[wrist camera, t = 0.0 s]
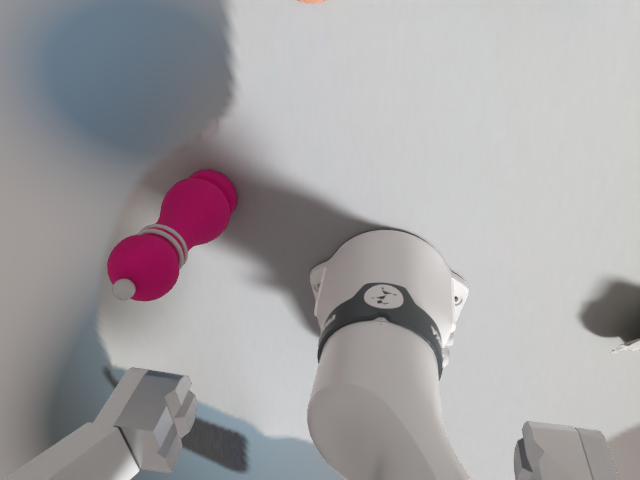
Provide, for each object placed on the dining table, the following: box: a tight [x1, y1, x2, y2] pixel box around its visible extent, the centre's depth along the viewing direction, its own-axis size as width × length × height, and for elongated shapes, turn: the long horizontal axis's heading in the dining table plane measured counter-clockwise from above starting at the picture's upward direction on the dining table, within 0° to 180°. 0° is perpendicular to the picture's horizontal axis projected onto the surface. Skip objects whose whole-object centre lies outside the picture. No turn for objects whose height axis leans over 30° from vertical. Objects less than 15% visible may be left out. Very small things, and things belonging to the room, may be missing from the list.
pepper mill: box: [107, 170, 237, 301], centre depth 46 cm, size 7×7×20 cm
